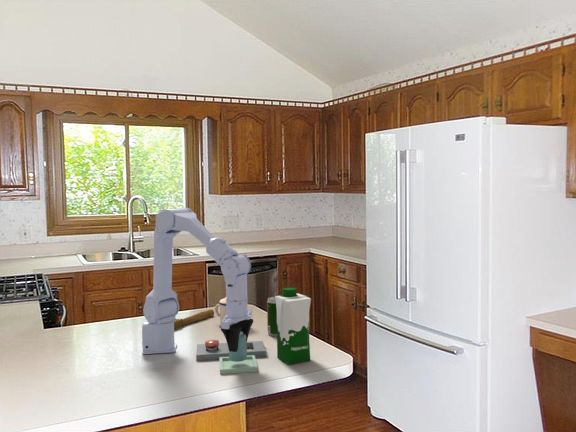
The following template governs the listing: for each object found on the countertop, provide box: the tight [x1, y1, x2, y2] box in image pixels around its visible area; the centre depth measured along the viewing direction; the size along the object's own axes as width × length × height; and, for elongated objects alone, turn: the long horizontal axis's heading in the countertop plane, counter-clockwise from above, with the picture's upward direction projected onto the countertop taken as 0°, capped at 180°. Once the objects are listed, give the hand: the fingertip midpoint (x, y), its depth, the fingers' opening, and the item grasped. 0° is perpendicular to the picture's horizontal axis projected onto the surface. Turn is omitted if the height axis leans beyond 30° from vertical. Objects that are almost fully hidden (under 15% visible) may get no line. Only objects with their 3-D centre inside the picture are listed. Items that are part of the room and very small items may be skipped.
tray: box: [218, 355, 259, 375], centre depth 143 cm, size 10×10×1 cm
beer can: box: [266, 296, 277, 337], centre depth 173 cm, size 5×5×12 cm
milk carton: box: [274, 286, 312, 366], centre depth 147 cm, size 9×9×20 cm
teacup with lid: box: [214, 296, 227, 327], centre depth 185 cm, size 12×9×12 cm
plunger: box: [204, 339, 220, 351], centre depth 153 cm, size 4×4×3 cm
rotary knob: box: [229, 332, 248, 362], centre depth 142 cm, size 5×5×7 cm
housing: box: [195, 340, 267, 361], centre depth 154 cm, size 20×10×2 cm, turn 98°
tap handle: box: [174, 309, 215, 331], centre depth 186 cm, size 3×3×30 cm
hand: (237, 348), depth 142 cm, fingers closed on rotary knob, 5 cm apart
